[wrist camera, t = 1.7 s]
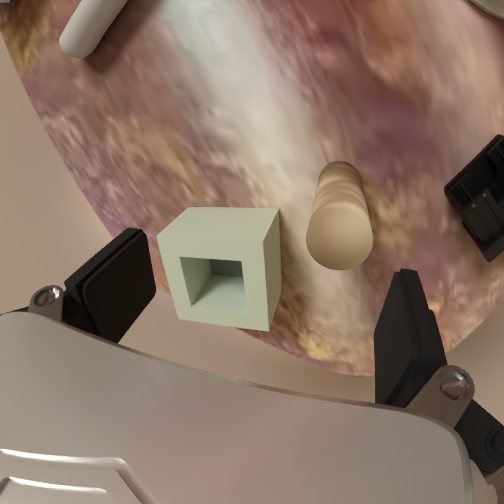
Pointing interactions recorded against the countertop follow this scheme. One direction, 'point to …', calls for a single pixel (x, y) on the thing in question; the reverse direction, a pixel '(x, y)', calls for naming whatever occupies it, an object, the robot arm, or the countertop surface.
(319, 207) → the peg
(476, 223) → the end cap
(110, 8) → the tube
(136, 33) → the countertop surface
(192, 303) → the socket block
